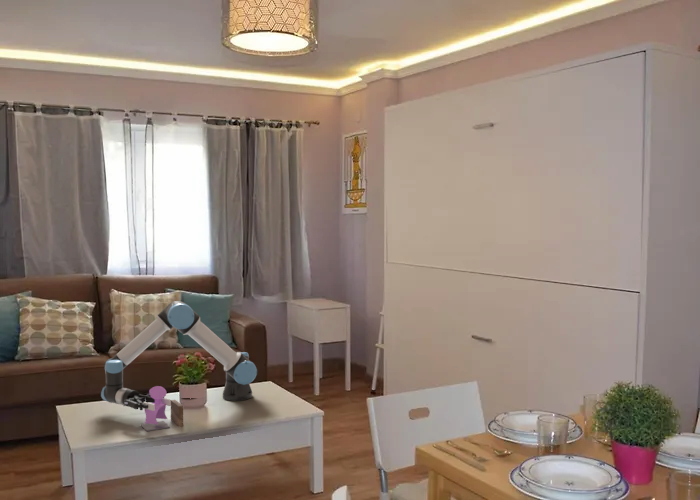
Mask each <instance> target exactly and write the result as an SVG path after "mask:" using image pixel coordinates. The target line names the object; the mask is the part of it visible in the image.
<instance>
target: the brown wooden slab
mask: <svg viewBox="0 0 700 500" xmlns="http://www.w3.org/2000/svg"><path fill="white" fill-rule="evenodd" d="M170 400H171V406H170V421H172V422H173V423H174V424H175V425H176V426H178V427H184V405H183V404H181V402H179V401H178V400H176V399H170Z"/></svg>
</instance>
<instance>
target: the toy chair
mask: <svg viewBox="0 0 700 500" xmlns="http://www.w3.org/2000/svg"><path fill="white" fill-rule="evenodd" d="M148 394H150V396H151V397H152V398H153V399H155V403H151V404H155V411H152V410H148V409H144V414H145V421H144V424H158V422H159V421H158V419H161V420H168V417H167V415H166V407H167V405H166V404H165V403H162V398H165V397H166V396H167V390H166V389H165V387H163V386H161V385H160V386H159V385H155V386H153V387H151V388H150V389H149V390H148Z"/></svg>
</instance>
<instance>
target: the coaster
mask: <svg viewBox="0 0 700 500" xmlns="http://www.w3.org/2000/svg"><path fill="white" fill-rule="evenodd" d="M157 422H158V424H146V423H141V424H140V426H141V428H143V429H144V430H145V431H146V432H153V431H159V430H165V429H171V426H170V425H169V424H168V423H167V422H165V421H164V420H160V421H157Z"/></svg>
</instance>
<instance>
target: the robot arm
mask: <svg viewBox="0 0 700 500" xmlns="http://www.w3.org/2000/svg"><path fill="white" fill-rule="evenodd" d="M173 328H174V329H176V330H177V331H178V332H179V333H181V334H182V336H185V335H186V336H187V335H188V336H189V337H190V338H191V339H193V341H195V342H196V343H197V344H198V345H199V346H200V347H202V348H203V349H204V350H205V351H206V352H207V353H209V354H210V355H211V356H213V358H214V359H215V360H217V361H218V363H220V364H221V365H222V366H223V371H224V372H225V385H224V388H223V391H222V399H223V400H225V401H246V400H249V399H252V398H253V391H252V387H251V385H250V384H251V383H253V381H255V379H256V377H257V375H258V368H257V367H256V365H255V363H254V362H253V361H251V360H250V359H249V358H250V356H249V353H248V352H245V351H243V352H241V351H237V352H236V351H235V350H234V349H233V348H231V347H230V346H229V344H227V343H226V342H225V341H223V340H222V338H220V337H219V336H218V335H217V334H216V333H214V331H213V330H211V329H210V328H209V327H208V326H207V325H206V324H205V323H204V322H202V321H201V316H200V315H199V314H198V313H197V312H196V311H194V310H193V308H192V307H191V306H190V305H189V304H187V303H185V302H184V301H181V300H175V301H171V302H170V303H168V304H167V305H166V306H165V307H164V308H162V310H161V311H160V312H159V313H158V314H157V315H156V319H154V320H153V321H152V322H151V323H150V324H148V325H147V327H146V328H144V329H143V330H142V331H141V332H140V333H139V334H137V335H136V336H135V337H134V338H133V339H132V340H131V341H129V343H127V344H126V345H125V346H124V347H123V348H122V349H121V350H119V352H118V353H116V354H115V355H114V356H113V357H111V358H108V359H107V360H106V362H104V363H105V364H104V373H105V386H103V387H102V390H101V392H100V397H101V399H102V400H103V401H104V402H108V403H109V404H116V405H121V406H123V407H130V408H131V409H135V410H140V411H143V409H144V410H145V409H148V410H152V411H155V404H151V403H155V399H153V398H152V397H151V396H150V393H147V394H146V395H145V394H140V393H139V391H138V390H135V389H130V388H127V387H124V369H125V368H126V367H127V366H128V365H130V364H131V363H132V362H133V361H134V360H135V359H136V358H137V357H138V356H140V355H141V354H142V353H144V351H145V350H146V349H147V348H148V347H150V346H151V345H152V344H153V343H154V342H155V341H157V340H158V339H159V338H160V337H161V336H162V335H164V334H165V332H167V331H169V330H172V329H173ZM171 400H172V399H169V398H165V397H164V398H162V403H165V404H166V405H165V406H166V407H167V406H168V407H171Z"/></svg>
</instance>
